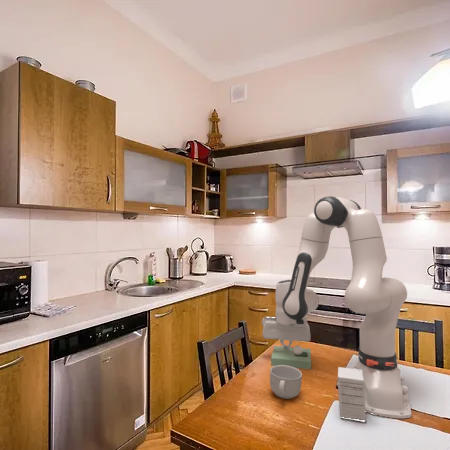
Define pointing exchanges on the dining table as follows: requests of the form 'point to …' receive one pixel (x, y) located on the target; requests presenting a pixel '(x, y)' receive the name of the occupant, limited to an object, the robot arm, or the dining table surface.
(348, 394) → the supplement box
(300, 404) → the dining table surface
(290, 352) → the putting deck
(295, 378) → the teacup
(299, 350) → the ball
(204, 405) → the dining table surface
